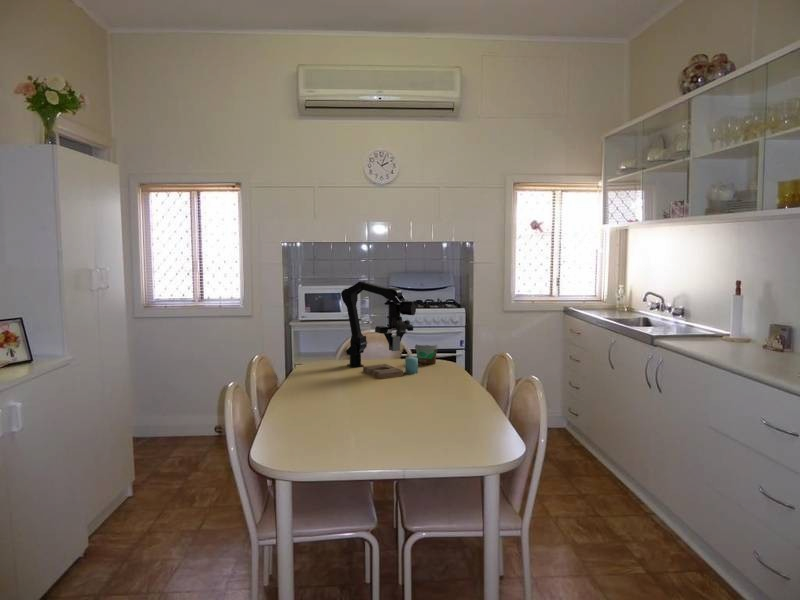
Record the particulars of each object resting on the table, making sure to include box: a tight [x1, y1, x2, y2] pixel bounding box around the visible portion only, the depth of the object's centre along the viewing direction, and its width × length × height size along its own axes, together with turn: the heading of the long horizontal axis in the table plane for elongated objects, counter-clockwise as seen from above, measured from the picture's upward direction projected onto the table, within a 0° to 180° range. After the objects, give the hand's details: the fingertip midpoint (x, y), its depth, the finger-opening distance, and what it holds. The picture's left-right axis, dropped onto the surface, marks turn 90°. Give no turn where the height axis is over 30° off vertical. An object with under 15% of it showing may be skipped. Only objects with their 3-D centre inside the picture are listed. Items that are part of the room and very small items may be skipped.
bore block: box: [362, 363, 404, 380], centre depth 268 cm, size 18×12×2 cm, turn 30°
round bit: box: [404, 356, 419, 375], centre depth 270 cm, size 6×6×7 cm
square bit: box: [388, 334, 401, 352], centre depth 275 cm, size 4×4×7 cm
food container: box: [414, 343, 439, 366], centre depth 289 cm, size 12×6×10 cm, turn 73°
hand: (394, 346), depth 275 cm, fingers closed on square bit, 4 cm apart
